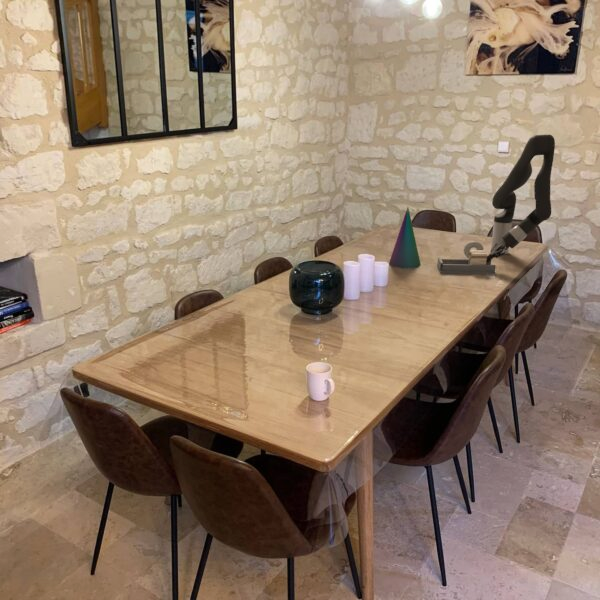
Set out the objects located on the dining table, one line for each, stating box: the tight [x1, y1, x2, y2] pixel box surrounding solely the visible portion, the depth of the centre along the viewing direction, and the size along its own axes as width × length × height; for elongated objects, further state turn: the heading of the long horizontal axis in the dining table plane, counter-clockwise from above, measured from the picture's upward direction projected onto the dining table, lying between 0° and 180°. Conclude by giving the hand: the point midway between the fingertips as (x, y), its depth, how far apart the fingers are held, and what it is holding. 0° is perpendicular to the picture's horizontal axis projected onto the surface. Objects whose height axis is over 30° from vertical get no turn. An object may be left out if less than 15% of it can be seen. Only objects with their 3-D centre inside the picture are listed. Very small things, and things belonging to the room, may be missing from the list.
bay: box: [436, 256, 497, 275], centre depth 289 cm, size 14×26×5 cm, turn 85°
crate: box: [468, 249, 488, 265], centre depth 288 cm, size 7×7×8 cm
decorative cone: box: [388, 206, 422, 269], centre depth 296 cm, size 16×16×30 cm
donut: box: [463, 240, 485, 259], centre depth 306 cm, size 10×4×10 cm, turn 76°
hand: (485, 260), depth 288 cm, fingers closed
